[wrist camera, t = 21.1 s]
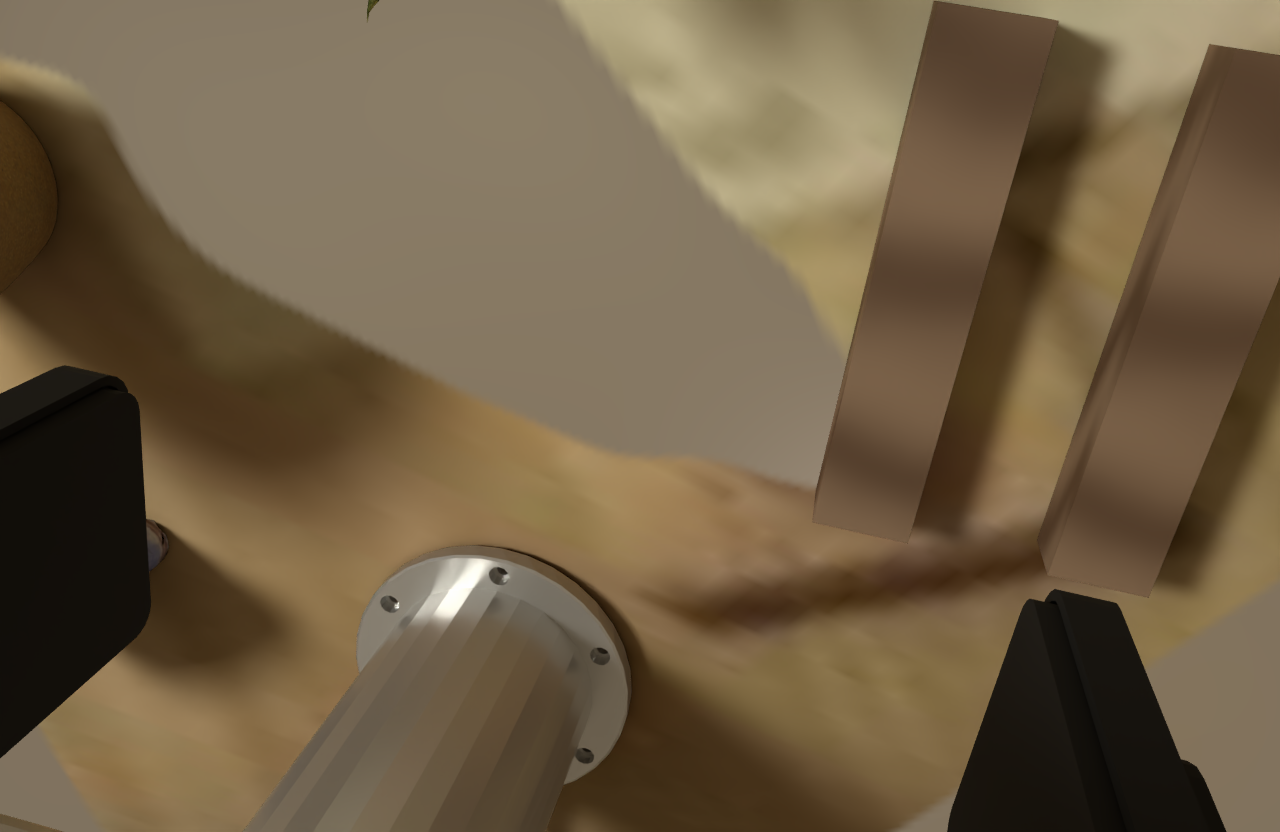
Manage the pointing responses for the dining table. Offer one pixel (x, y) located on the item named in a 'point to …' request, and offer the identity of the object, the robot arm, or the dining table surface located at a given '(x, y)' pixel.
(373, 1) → the house plant
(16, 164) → the plant pot
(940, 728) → the dining table surface
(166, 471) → the dining table surface
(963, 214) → the parallel rectangular beams
